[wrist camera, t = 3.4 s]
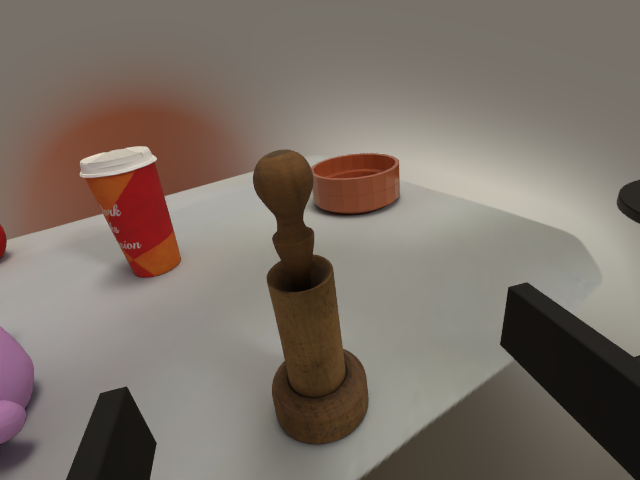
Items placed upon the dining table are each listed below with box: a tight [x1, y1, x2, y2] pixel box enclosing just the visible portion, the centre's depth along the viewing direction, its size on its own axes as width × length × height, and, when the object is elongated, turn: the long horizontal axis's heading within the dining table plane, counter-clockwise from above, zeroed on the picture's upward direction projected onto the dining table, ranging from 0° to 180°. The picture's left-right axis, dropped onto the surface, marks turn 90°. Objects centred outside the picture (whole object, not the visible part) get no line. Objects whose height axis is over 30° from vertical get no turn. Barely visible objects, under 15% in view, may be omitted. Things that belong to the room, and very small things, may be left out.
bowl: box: [311, 153, 400, 214], centre depth 58 cm, size 14×14×6 cm
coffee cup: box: [80, 147, 181, 277], centre depth 44 cm, size 8×8×15 cm
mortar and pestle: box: [253, 150, 368, 444], centre depth 21 cm, size 7×6×18 cm
